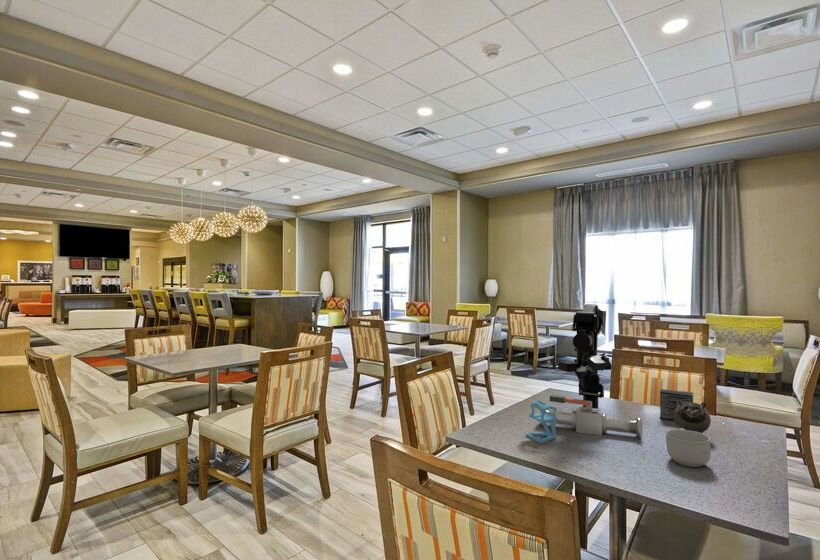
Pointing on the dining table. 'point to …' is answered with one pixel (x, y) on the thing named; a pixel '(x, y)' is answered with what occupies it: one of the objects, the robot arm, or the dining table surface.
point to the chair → (543, 421)
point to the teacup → (688, 447)
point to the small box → (672, 402)
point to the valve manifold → (596, 422)
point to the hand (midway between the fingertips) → (584, 389)
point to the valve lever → (571, 401)
